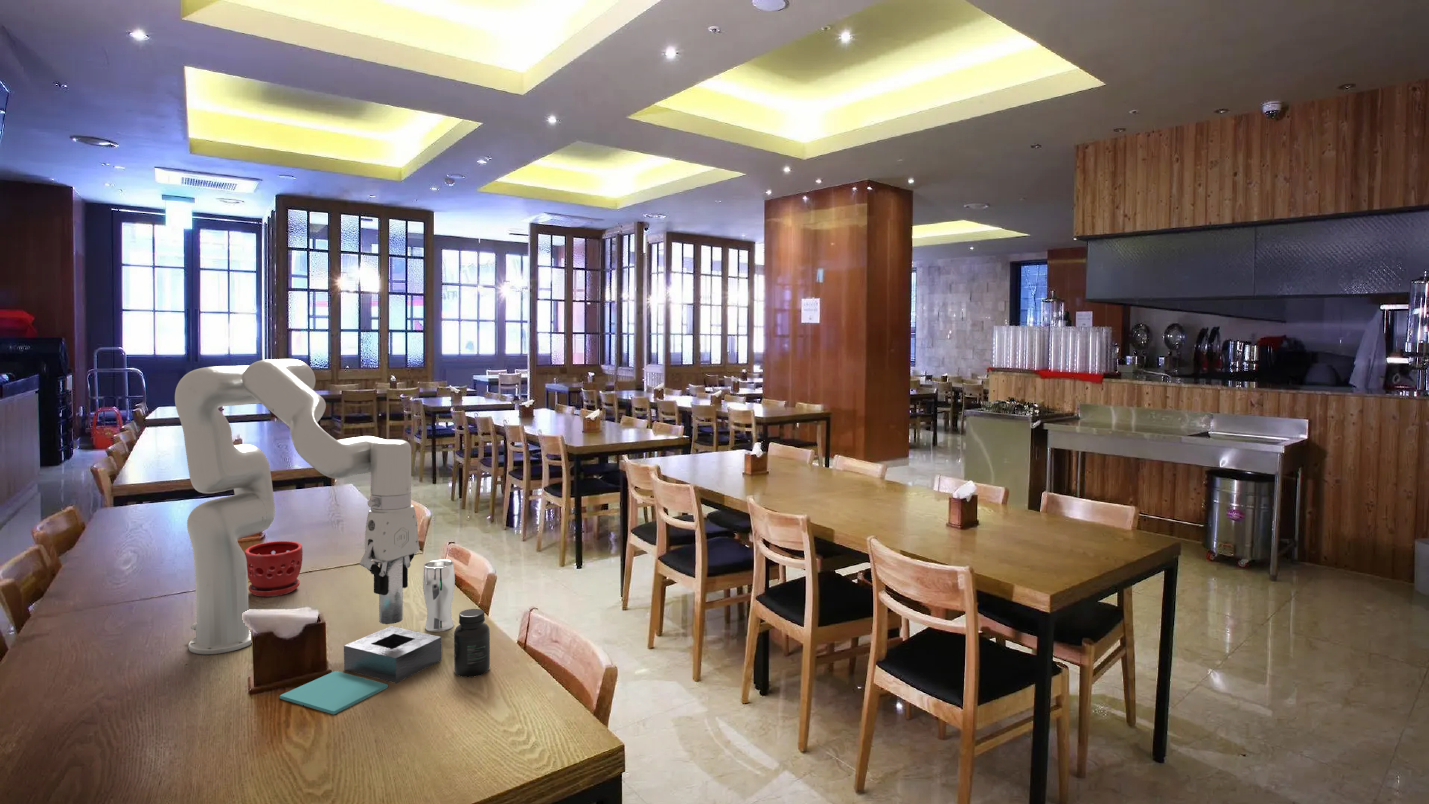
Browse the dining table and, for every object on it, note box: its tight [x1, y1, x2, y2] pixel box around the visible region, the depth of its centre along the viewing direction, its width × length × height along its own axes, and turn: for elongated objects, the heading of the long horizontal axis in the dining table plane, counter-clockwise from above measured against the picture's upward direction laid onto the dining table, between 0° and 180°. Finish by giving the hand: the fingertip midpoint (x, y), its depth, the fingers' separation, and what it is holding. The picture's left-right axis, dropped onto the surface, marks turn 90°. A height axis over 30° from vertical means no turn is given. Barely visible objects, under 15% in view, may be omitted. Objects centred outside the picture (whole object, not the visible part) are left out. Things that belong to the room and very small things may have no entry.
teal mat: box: [279, 670, 389, 715], centre depth 144 cm, size 14×12×1 cm
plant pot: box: [244, 540, 304, 598], centre depth 200 cm, size 13×13×12 cm
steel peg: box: [378, 557, 404, 625], centre depth 156 cm, size 4×4×13 cm
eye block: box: [343, 625, 443, 684], centre depth 157 cm, size 14×12×5 cm
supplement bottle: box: [453, 608, 491, 678], centre depth 154 cm, size 7×7×12 cm
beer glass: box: [422, 559, 456, 633], centre depth 177 cm, size 7×7×15 cm
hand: (390, 589), depth 156 cm, fingers closed on steel peg, 4 cm apart
